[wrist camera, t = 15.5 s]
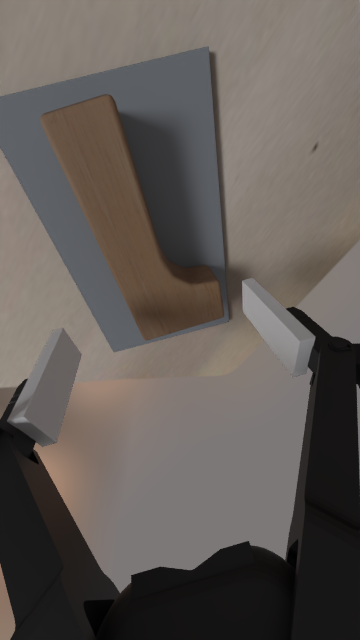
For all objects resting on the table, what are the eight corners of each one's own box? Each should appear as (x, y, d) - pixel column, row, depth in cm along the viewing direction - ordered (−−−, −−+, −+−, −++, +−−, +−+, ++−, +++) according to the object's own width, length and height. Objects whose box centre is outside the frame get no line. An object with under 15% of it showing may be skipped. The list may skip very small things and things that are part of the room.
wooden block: (213, 297, 26) (177, 89, 15) (226, 318, 22) (189, 65, 12) (143, 318, 26) (58, 127, 15) (144, 343, 22) (33, 114, 12)
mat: (-20, 104, 14) (-25, 102, 14) (206, 50, 15) (208, 46, 14) (114, 349, 29) (113, 352, 28) (227, 319, 29) (229, 321, 29)
